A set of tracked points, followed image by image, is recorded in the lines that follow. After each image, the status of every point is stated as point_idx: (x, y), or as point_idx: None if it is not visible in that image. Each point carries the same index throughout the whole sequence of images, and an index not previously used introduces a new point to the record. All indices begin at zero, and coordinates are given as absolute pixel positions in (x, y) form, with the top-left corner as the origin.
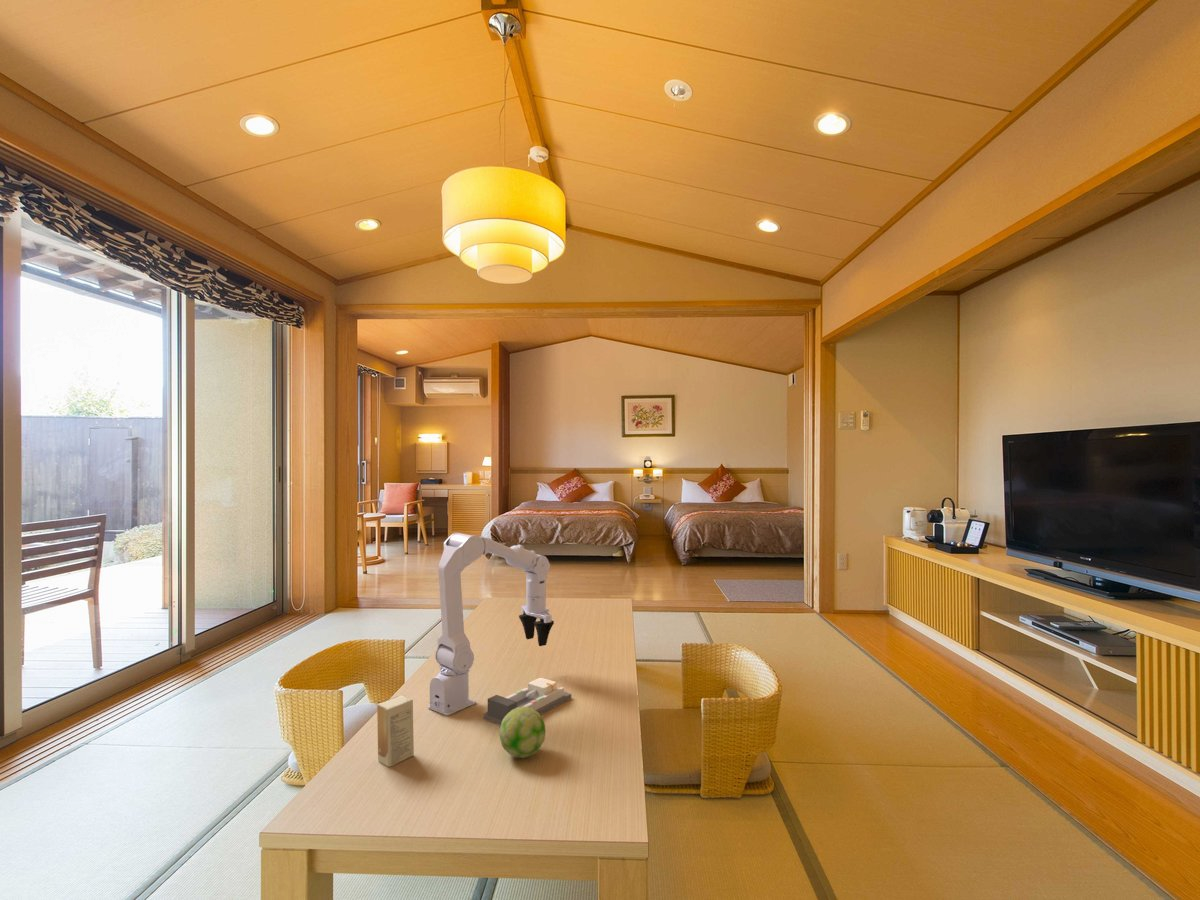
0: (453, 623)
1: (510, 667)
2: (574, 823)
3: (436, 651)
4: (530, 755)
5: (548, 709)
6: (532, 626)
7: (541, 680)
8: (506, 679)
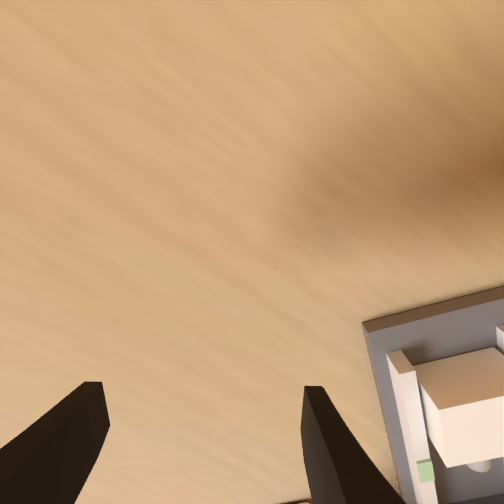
0: None
1: (69, 313)
2: None
3: None
4: None
5: None
6: (26, 494)
7: (469, 421)
8: (186, 375)
